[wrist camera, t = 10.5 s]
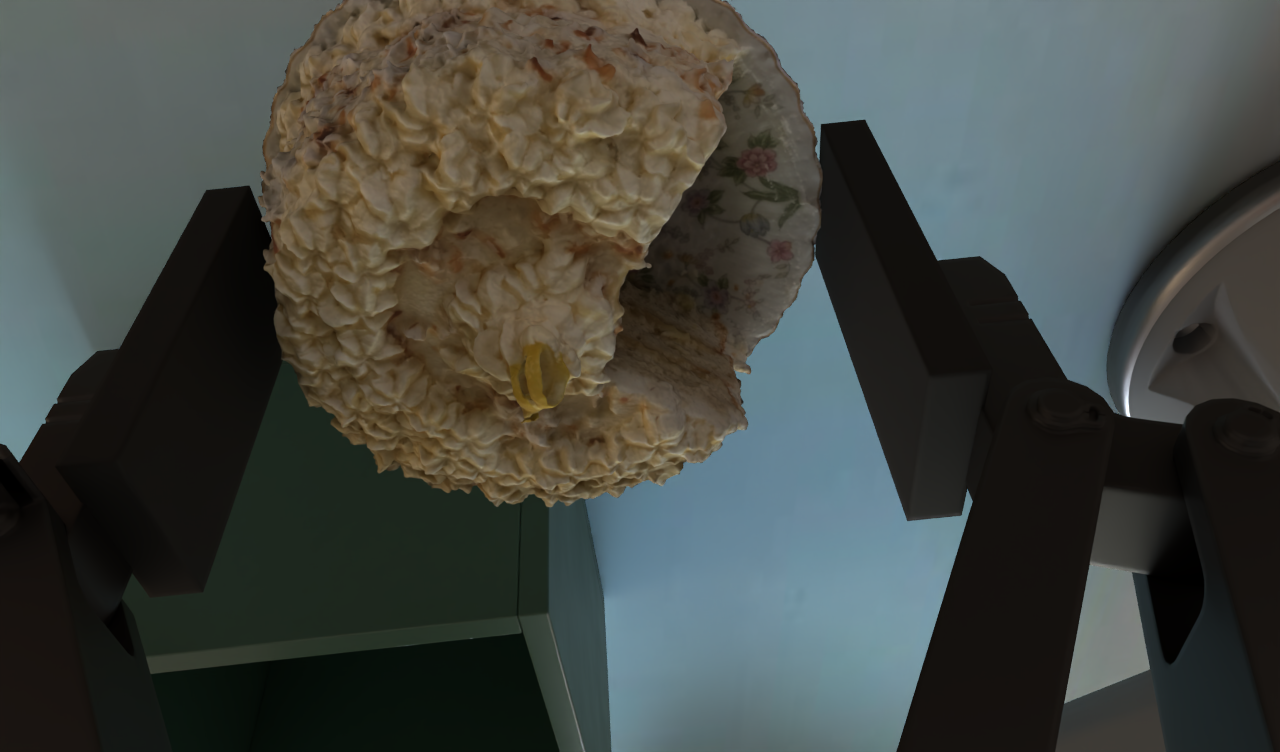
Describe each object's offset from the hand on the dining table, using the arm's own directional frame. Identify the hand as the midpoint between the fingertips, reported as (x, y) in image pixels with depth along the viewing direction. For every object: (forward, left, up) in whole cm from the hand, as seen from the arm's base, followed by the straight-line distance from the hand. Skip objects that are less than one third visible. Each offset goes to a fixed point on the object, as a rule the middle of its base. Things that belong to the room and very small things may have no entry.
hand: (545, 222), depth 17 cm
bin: (+18, +12, -11) cm, 24 cm away
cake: (0, 0, 0) cm, 0 cm away
